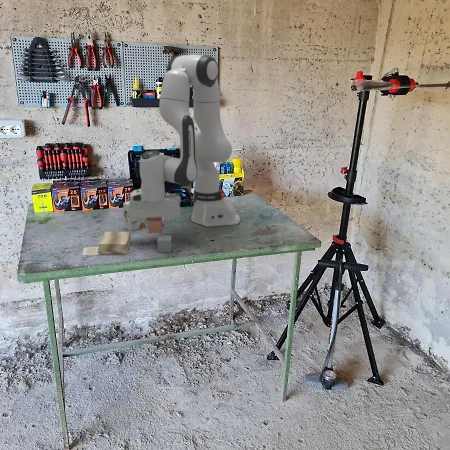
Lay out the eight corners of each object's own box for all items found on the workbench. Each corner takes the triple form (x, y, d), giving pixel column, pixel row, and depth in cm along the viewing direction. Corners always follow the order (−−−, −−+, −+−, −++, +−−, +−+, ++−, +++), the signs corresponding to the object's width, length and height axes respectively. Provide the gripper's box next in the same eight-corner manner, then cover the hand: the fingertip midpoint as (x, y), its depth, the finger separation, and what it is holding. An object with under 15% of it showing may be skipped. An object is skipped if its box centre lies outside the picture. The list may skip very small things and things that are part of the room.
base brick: (131, 241, 166) (130, 232, 165) (126, 254, 155) (126, 244, 154) (105, 241, 166) (104, 231, 164) (99, 253, 154) (98, 244, 153)
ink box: (141, 223, 185) (139, 198, 180) (147, 226, 182) (146, 201, 177) (124, 228, 179) (122, 202, 175) (130, 231, 176) (128, 205, 172)
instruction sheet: (108, 246, 161) (108, 246, 161) (107, 254, 155) (107, 253, 155) (84, 247, 159) (84, 247, 159) (82, 255, 153) (82, 255, 153)
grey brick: (171, 247, 163) (171, 235, 161) (171, 252, 158) (170, 240, 156) (158, 247, 162) (158, 235, 160) (157, 252, 158) (157, 240, 156)
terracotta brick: (162, 228, 168) (161, 216, 166) (161, 233, 164) (161, 221, 162) (149, 228, 168) (149, 216, 166) (148, 233, 163) (148, 221, 161)
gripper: (180, 190, 164) (181, 223, 169) (127, 191, 162) (130, 224, 167) (180, 195, 158) (181, 229, 163) (125, 197, 156) (128, 230, 162)
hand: (155, 226), depth 165 cm, fingers closed on terracotta brick, 5 cm apart
